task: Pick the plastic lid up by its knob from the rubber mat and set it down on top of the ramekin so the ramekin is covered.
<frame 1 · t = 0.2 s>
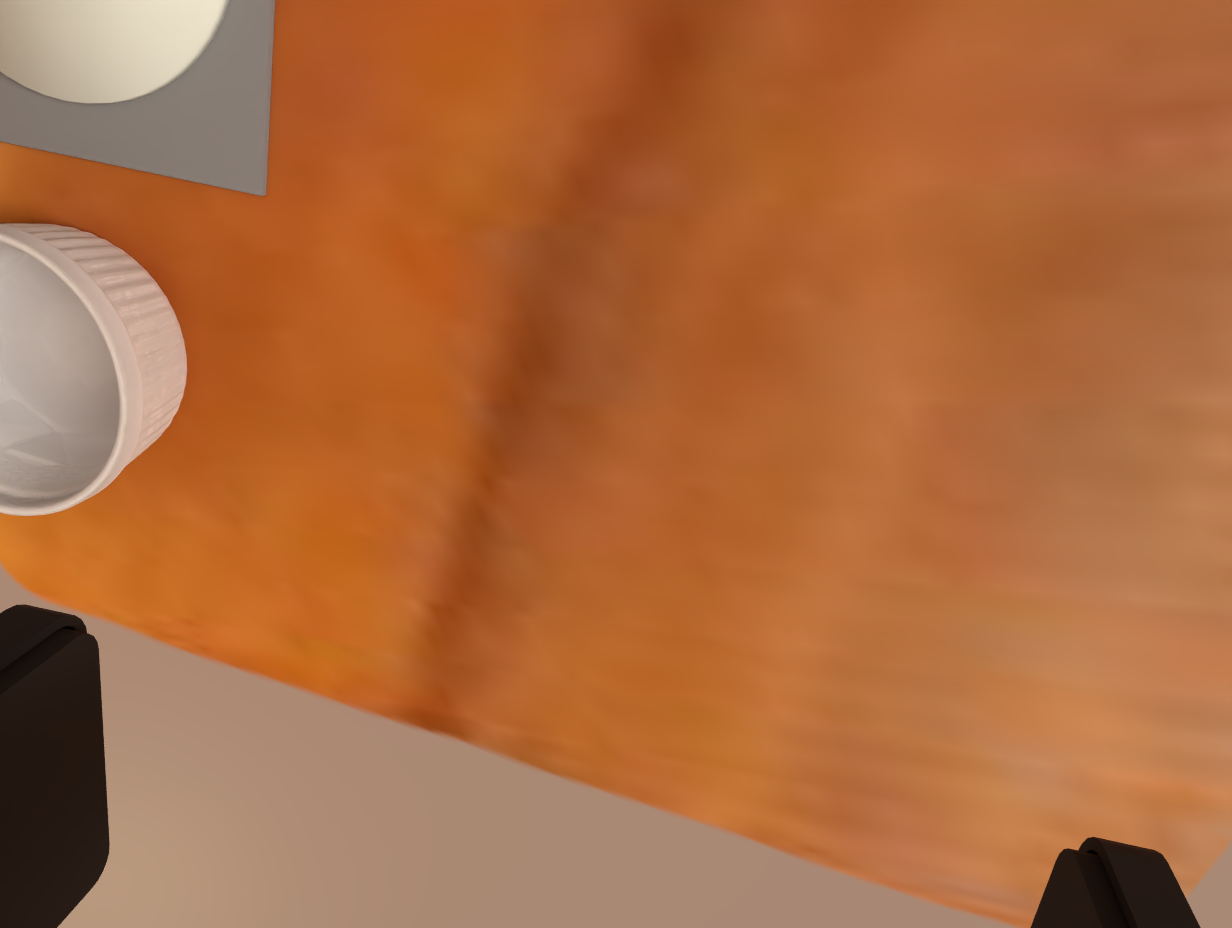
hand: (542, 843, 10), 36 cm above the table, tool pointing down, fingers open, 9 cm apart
ramekin: (91, 341, 50), on the table
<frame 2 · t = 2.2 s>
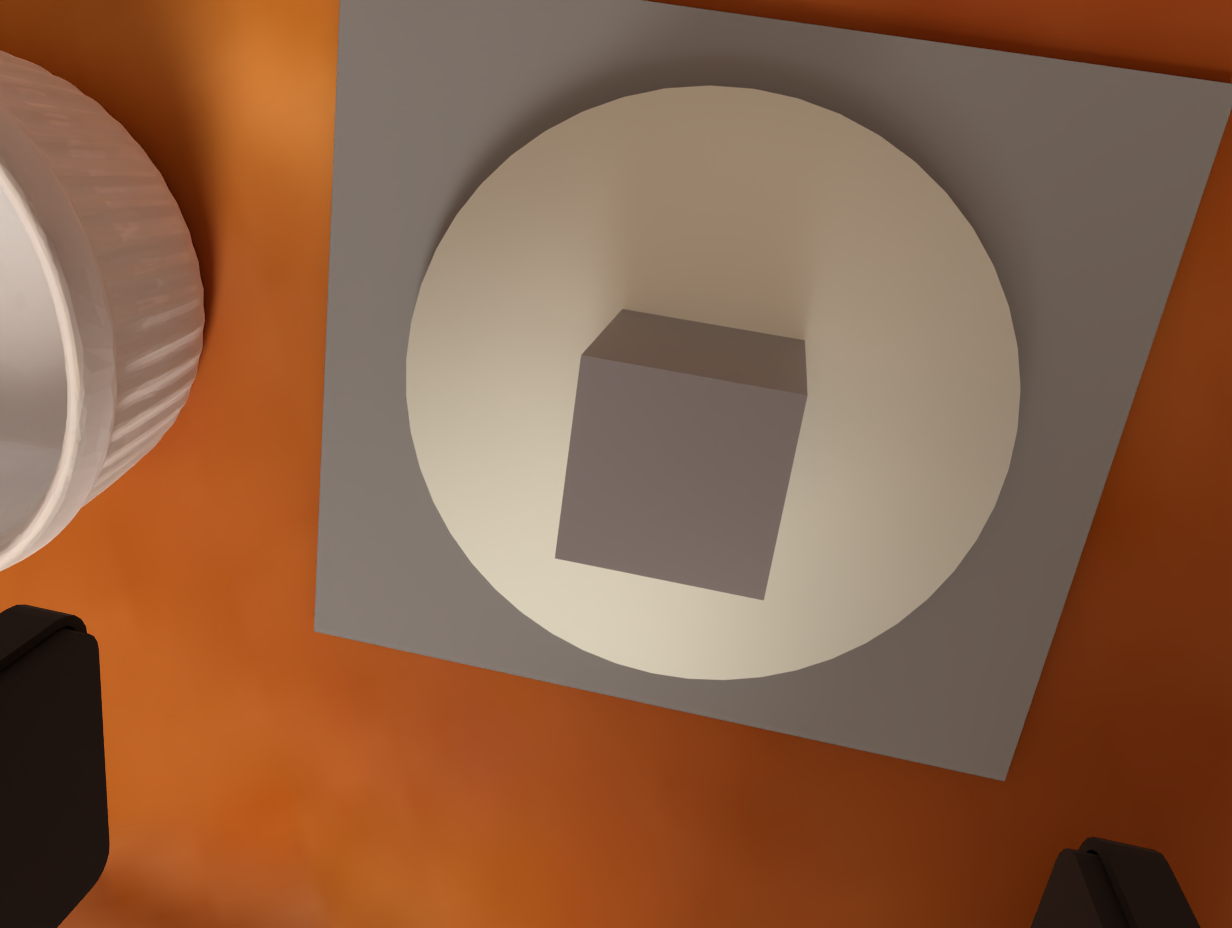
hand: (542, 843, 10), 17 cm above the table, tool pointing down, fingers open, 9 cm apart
mat: (701, 399, 26), on the table
lid: (700, 403, 25), resting on mat
ramekin: (33, 273, 28), on the table
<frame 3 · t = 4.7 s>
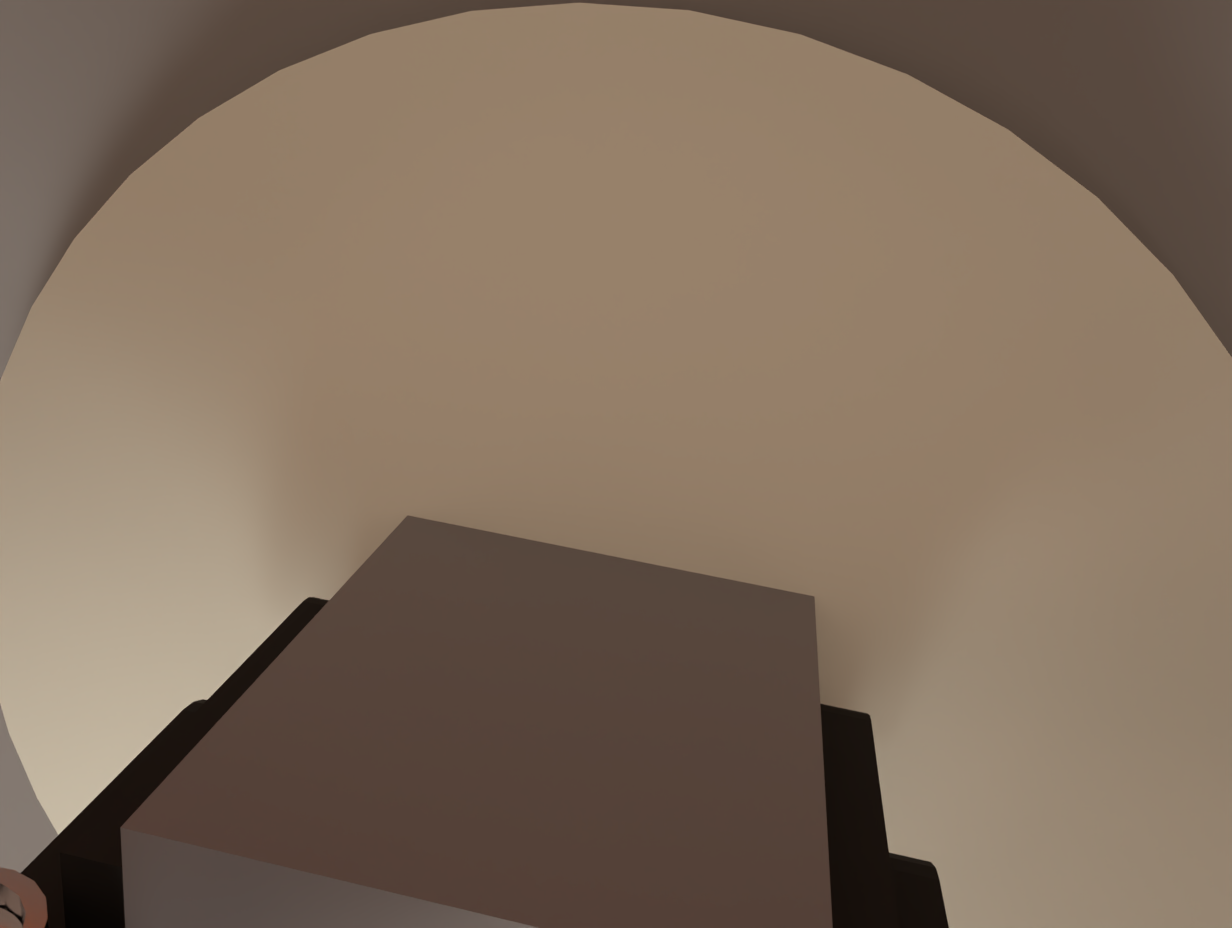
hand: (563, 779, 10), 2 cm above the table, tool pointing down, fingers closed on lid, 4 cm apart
mat: (600, 672, 12), on the table
lid: (593, 689, 12), resting on mat, touching gripper
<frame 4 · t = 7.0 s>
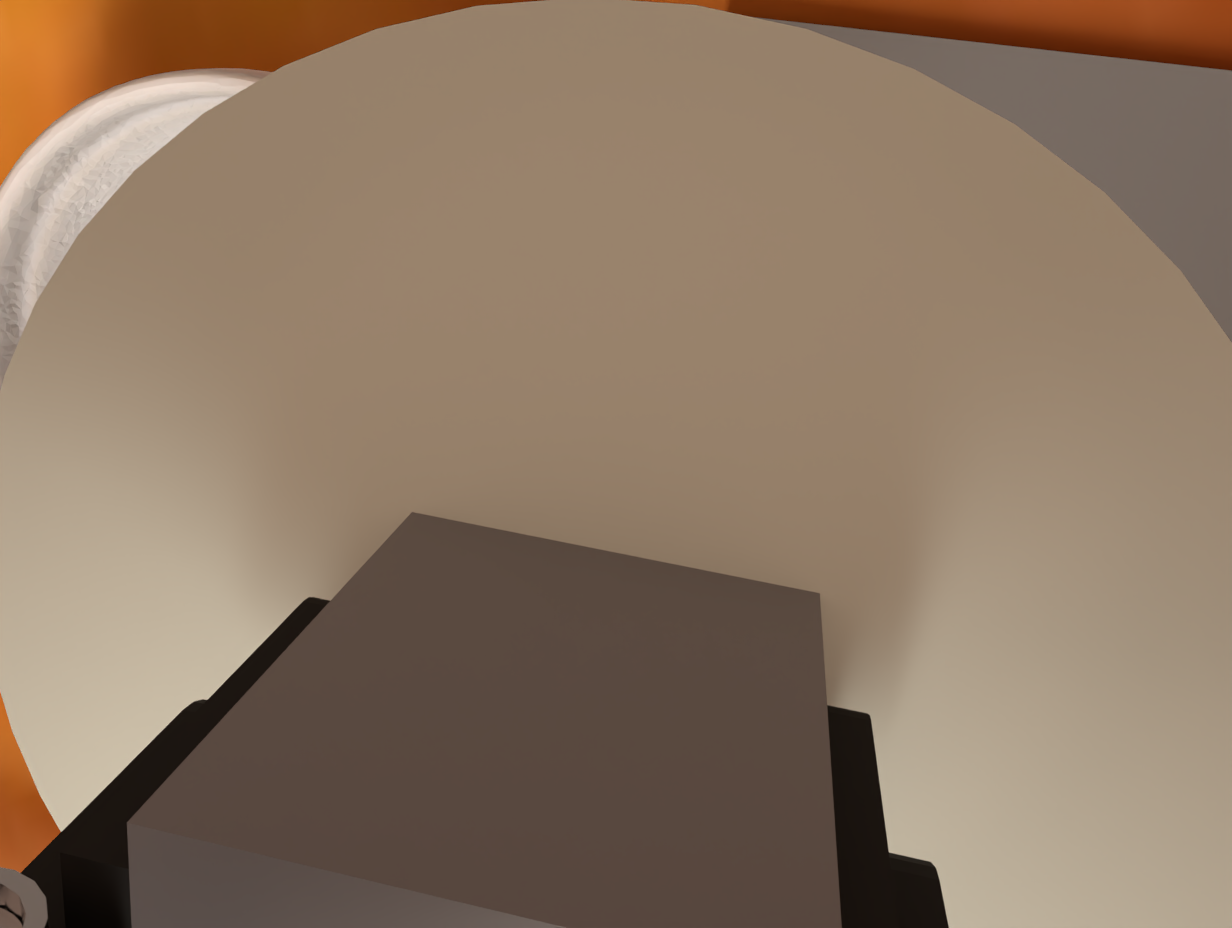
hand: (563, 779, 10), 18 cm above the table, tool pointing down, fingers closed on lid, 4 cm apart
mat: (1056, 434, 26), on the table
lid: (597, 686, 12), point 16 cm above the table, touching gripper
ramekin: (366, 324, 28), on the table
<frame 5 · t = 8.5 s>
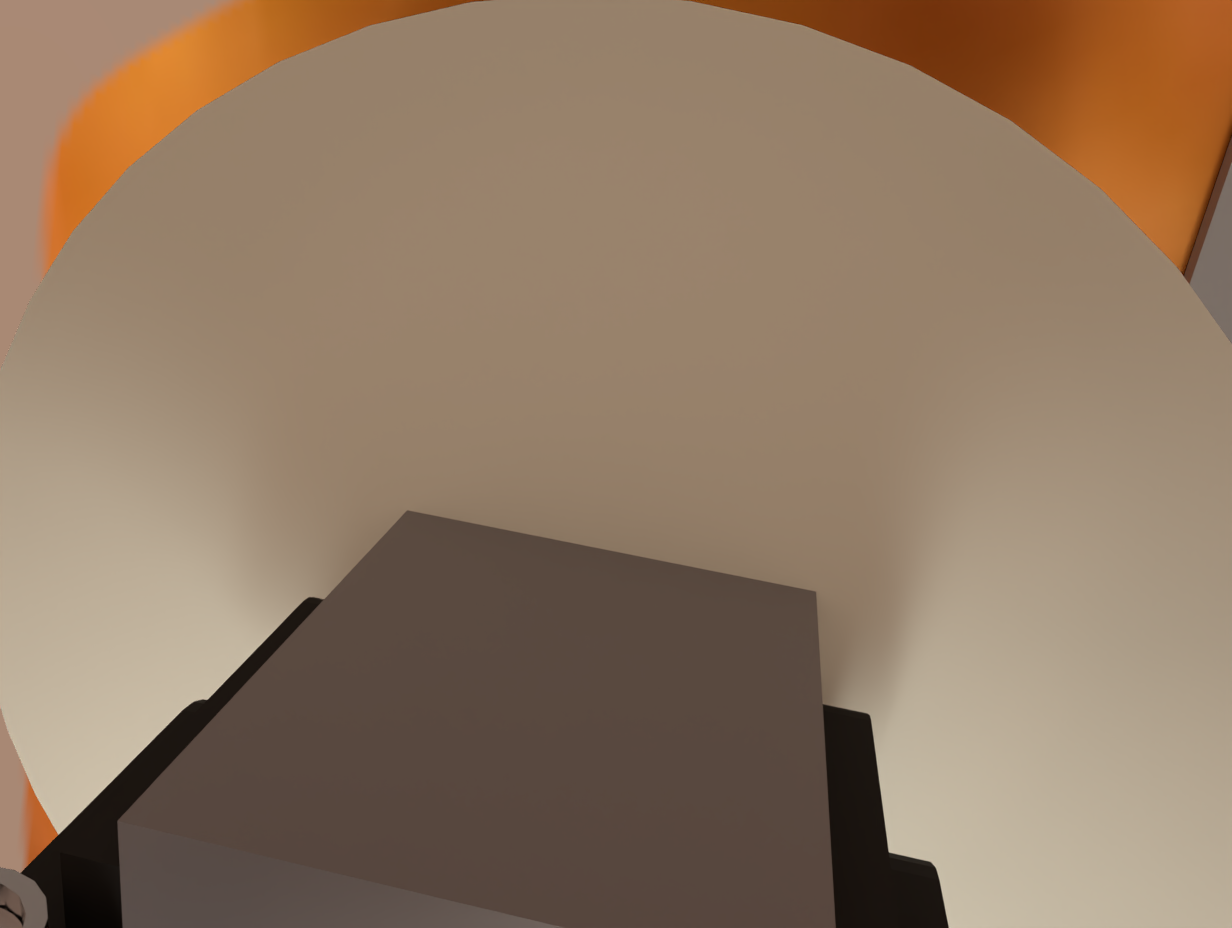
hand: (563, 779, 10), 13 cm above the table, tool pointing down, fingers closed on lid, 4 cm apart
lid: (593, 685, 12), point 11 cm above the table, touching gripper
when the fingers open (10 cm above the table, at t = 9.7 s): lid drops 2 cm, resting on ramekin.
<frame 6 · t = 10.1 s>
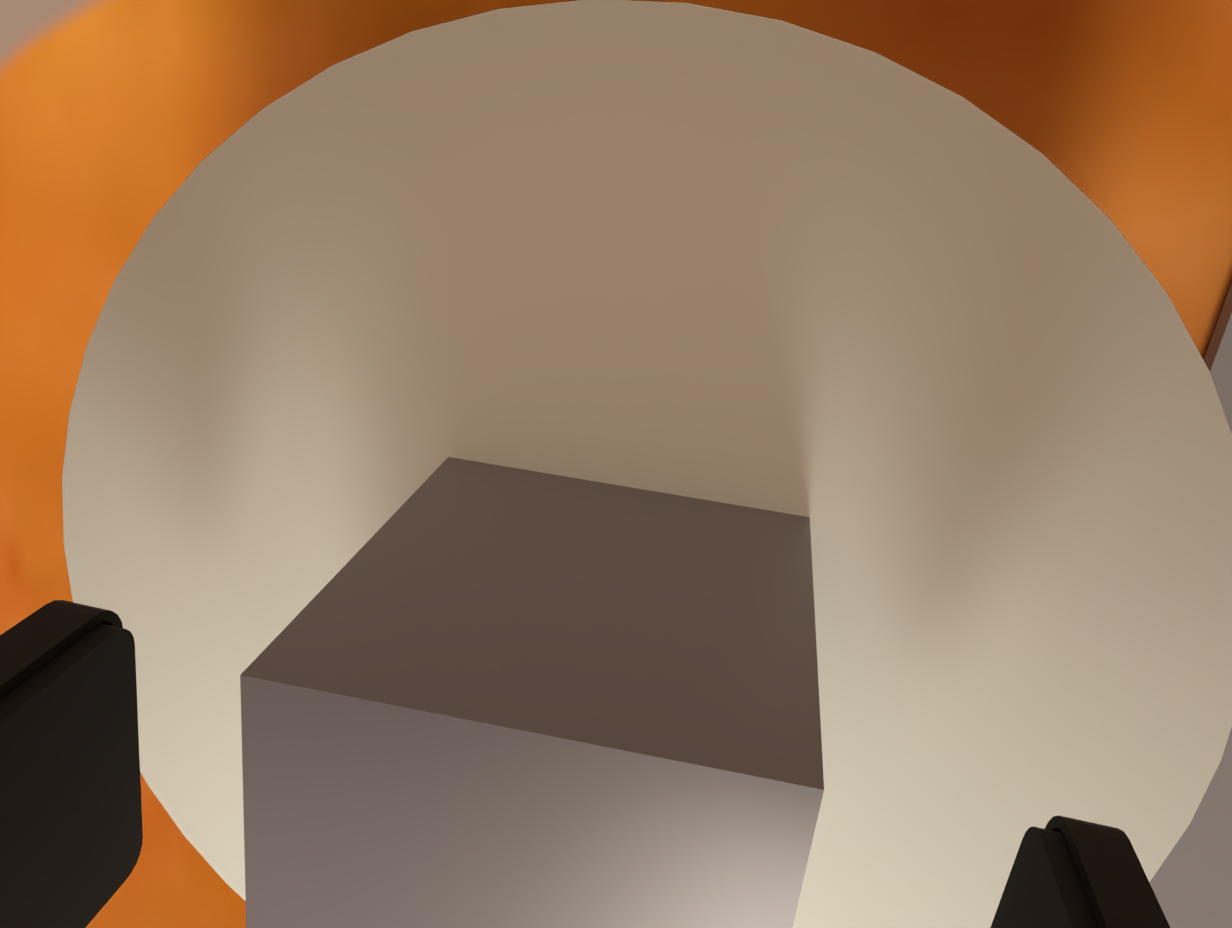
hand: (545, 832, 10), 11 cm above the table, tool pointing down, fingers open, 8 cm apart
lid: (615, 615, 13), point 7 cm above the table, touching ramekin
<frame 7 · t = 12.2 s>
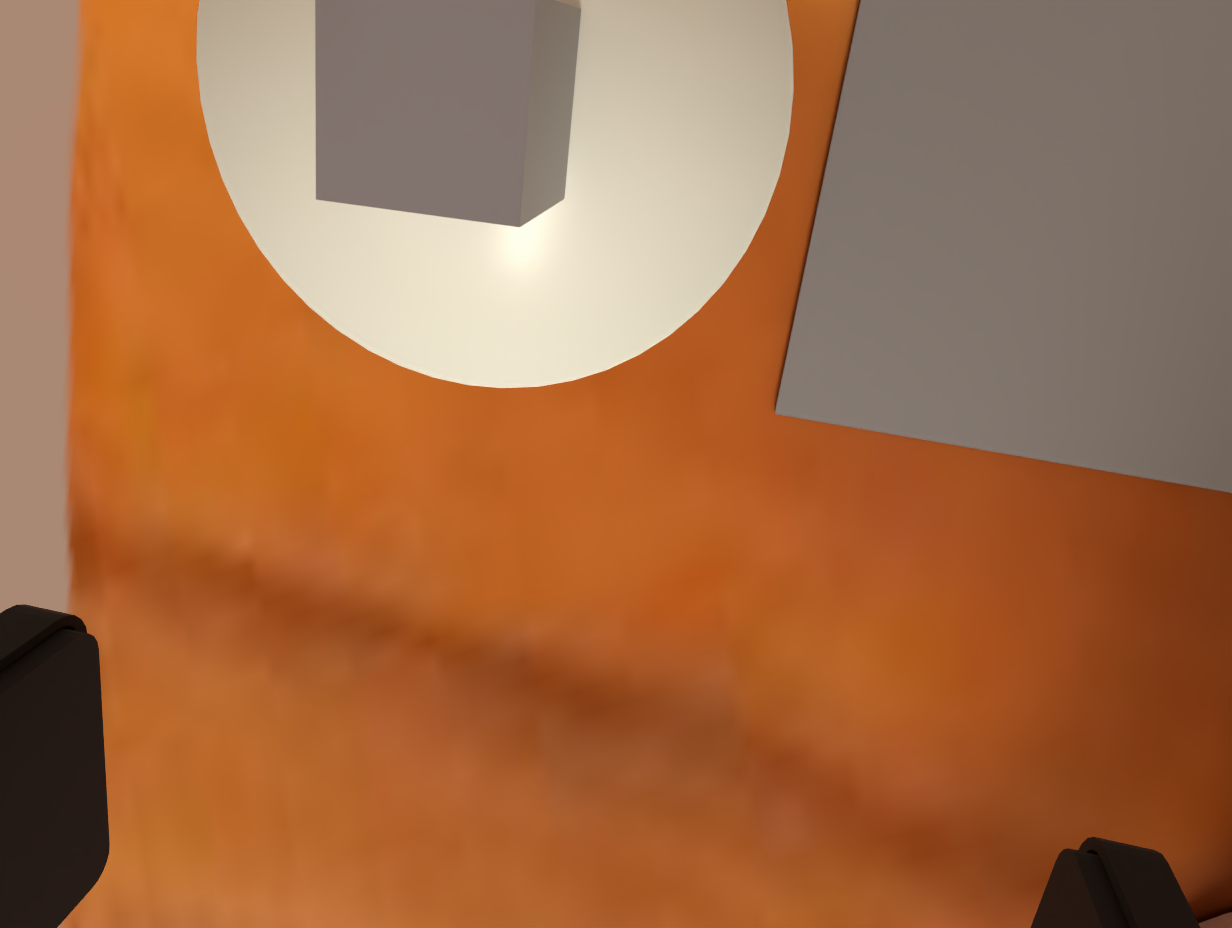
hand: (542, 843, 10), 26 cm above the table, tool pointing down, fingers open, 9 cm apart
mat: (1160, 188, 30), on the table
lid: (493, 95, 25), point 7 cm above the table, touching ramekin
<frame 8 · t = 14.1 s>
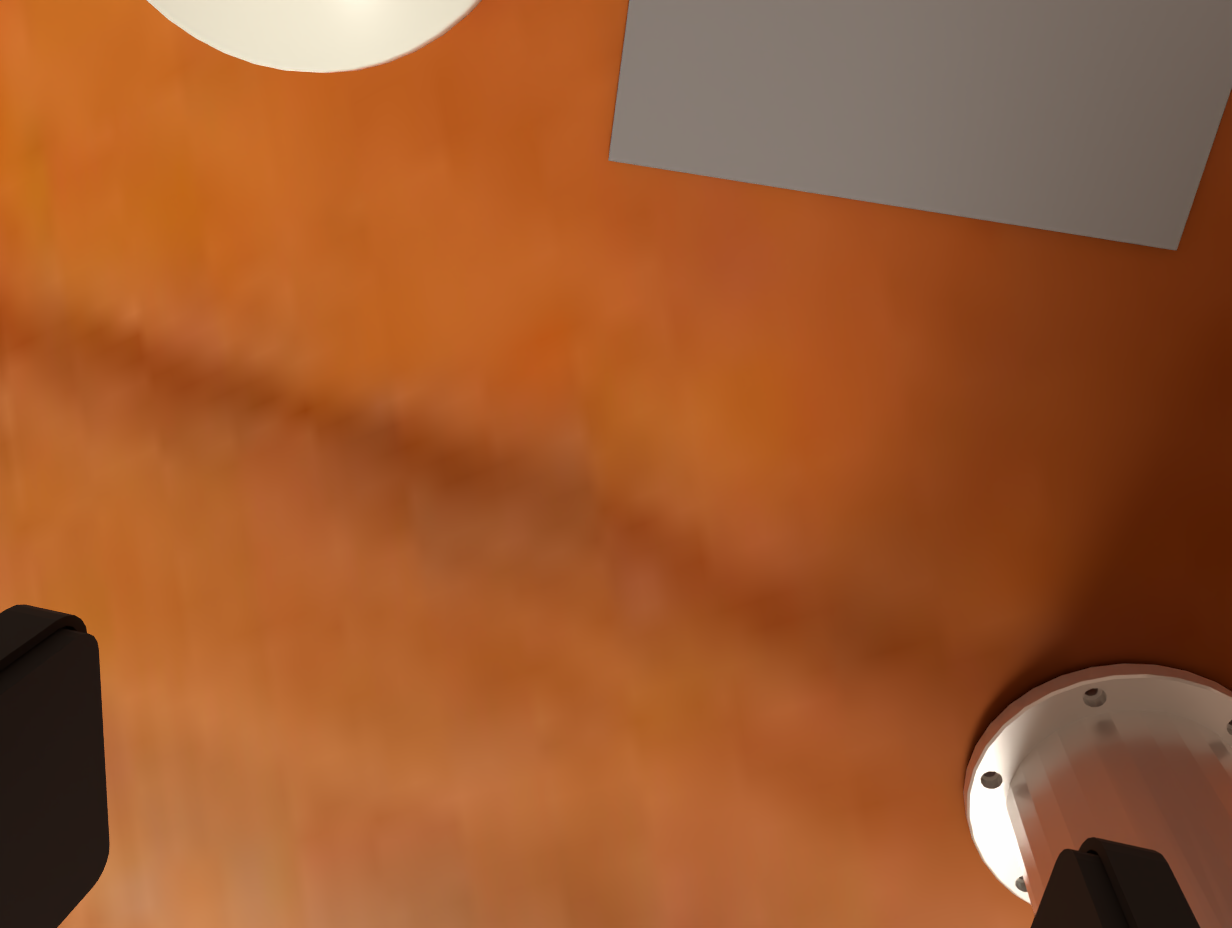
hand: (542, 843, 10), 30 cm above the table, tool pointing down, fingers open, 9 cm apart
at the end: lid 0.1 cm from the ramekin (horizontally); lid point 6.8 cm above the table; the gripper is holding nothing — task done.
